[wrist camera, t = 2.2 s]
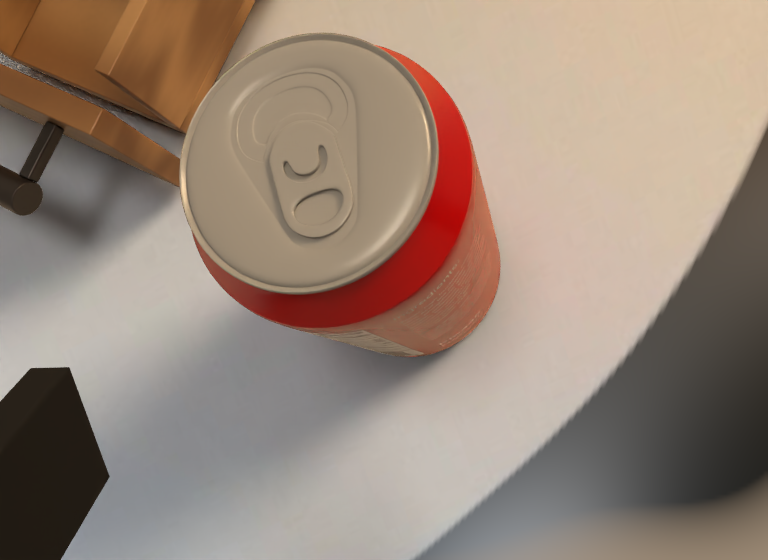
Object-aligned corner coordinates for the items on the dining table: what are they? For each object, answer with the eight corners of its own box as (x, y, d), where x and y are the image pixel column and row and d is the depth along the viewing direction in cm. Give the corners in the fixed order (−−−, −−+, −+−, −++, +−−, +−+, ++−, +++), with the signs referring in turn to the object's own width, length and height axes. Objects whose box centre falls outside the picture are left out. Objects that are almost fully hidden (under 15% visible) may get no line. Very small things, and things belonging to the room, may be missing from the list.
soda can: (359, 382, 30) (192, 369, 15) (312, 223, 32) (122, 78, 17) (527, 325, 28) (517, 253, 14) (468, 163, 30) (406, -47, 16)
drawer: (140, 266, 32) (39, 233, 26) (-51, 169, 36) (-182, 119, 29) (317, -87, 33) (263, -205, 27) (114, -146, 37) (24, -262, 30)
